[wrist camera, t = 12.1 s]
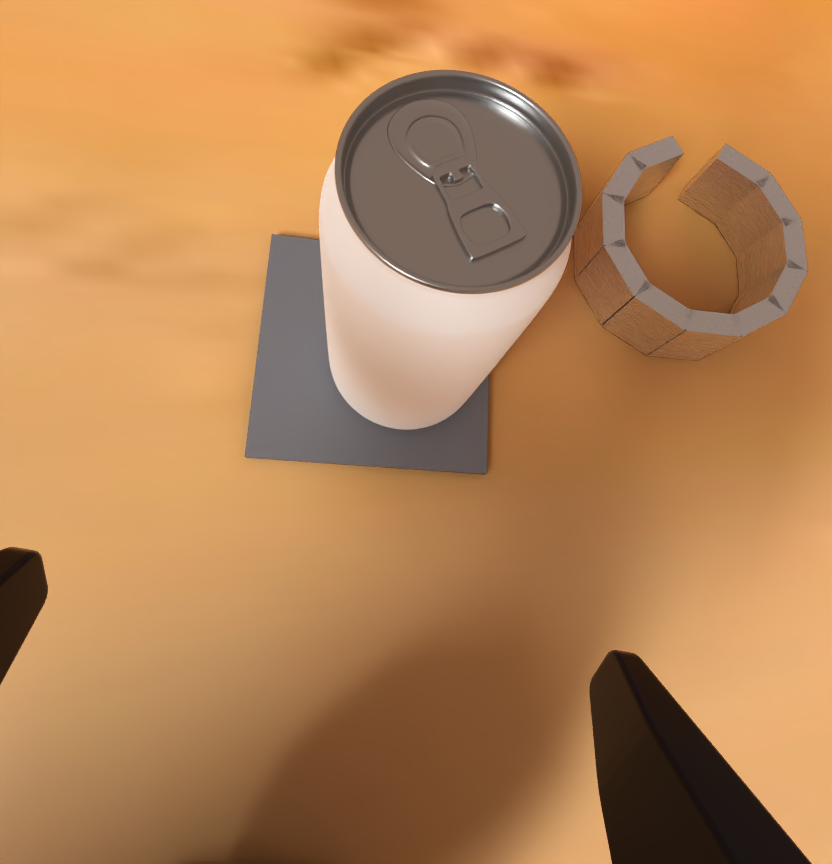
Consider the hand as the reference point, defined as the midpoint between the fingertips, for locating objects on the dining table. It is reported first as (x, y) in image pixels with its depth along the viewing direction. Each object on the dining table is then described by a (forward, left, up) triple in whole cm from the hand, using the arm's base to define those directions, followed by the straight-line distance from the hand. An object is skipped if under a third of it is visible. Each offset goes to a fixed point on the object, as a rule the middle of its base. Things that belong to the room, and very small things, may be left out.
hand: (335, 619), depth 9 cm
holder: (+16, -15, -14) cm, 25 cm away
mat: (+10, -1, -14) cm, 17 cm away
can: (+9, -2, -13) cm, 16 cm away
